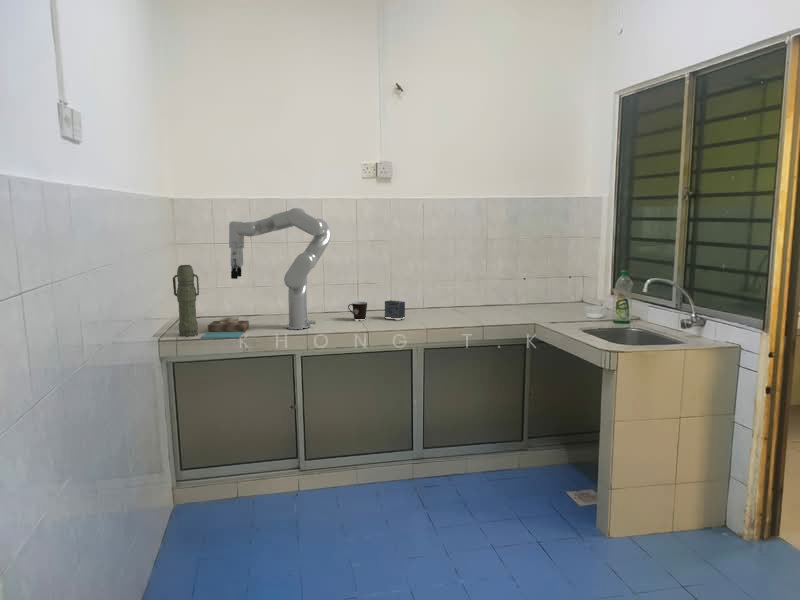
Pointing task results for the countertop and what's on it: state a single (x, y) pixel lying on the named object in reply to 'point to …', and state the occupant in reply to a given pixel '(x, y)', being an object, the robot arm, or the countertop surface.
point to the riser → (228, 326)
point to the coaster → (229, 320)
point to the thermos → (186, 300)
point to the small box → (394, 309)
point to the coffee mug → (359, 309)
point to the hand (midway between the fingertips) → (236, 277)
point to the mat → (222, 335)
